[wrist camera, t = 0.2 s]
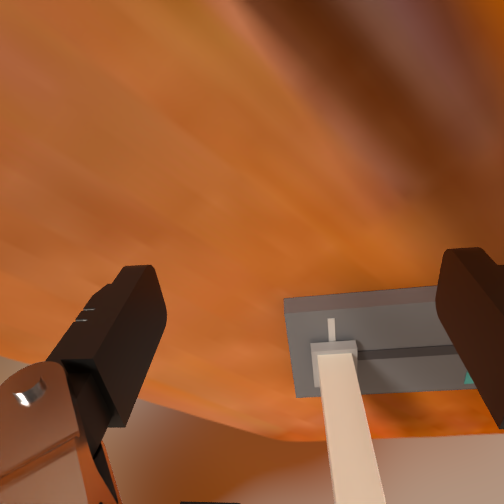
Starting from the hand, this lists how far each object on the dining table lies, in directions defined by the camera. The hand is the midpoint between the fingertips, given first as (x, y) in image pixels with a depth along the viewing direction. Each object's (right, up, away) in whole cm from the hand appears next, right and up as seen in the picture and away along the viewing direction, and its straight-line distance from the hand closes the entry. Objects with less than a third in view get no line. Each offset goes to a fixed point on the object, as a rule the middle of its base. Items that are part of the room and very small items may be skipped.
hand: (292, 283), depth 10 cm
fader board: (+14, -7, +25) cm, 29 cm away
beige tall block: (+7, -9, +24) cm, 26 cm away
